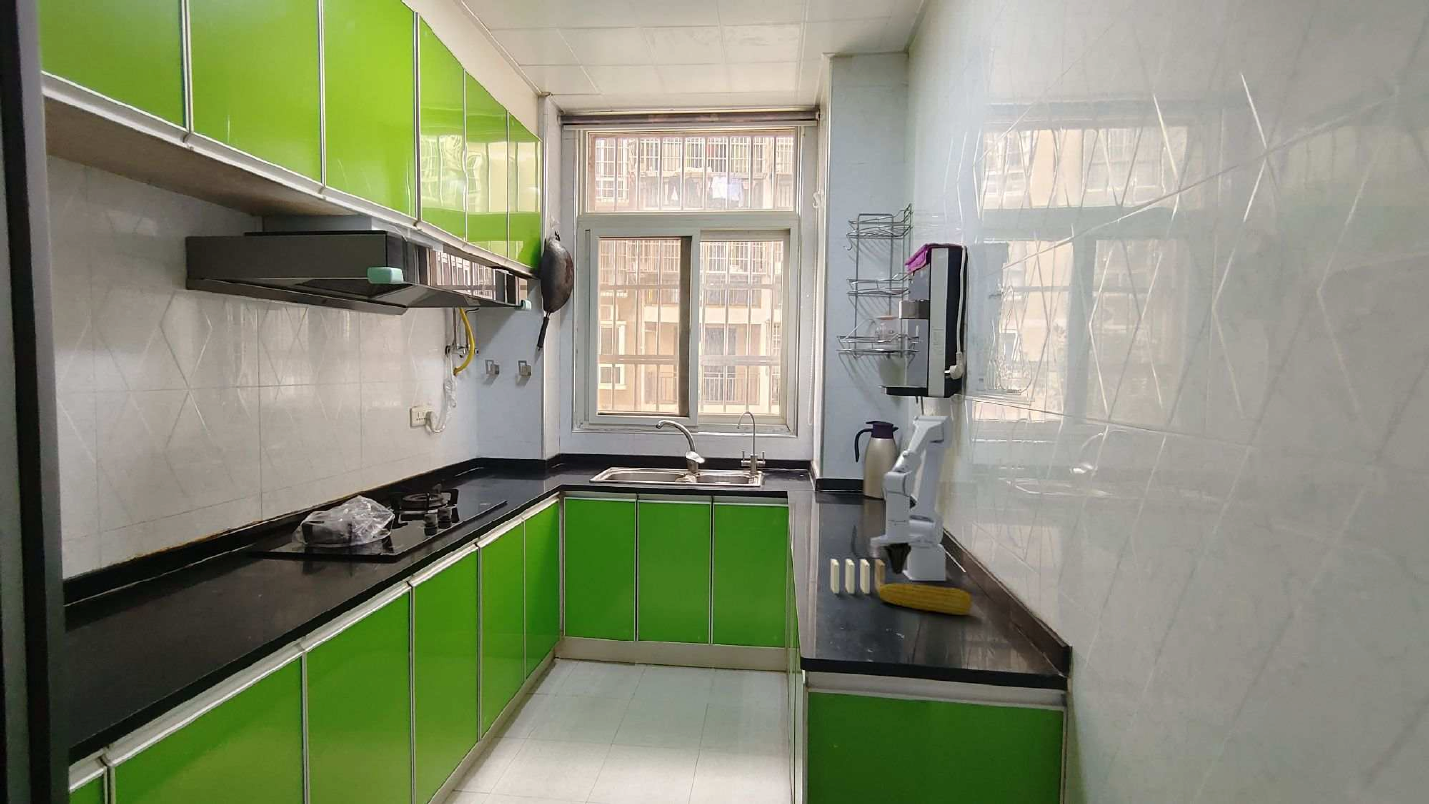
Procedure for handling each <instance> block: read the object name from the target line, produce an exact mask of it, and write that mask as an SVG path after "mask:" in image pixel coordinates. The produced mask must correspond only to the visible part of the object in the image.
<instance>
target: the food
mask: <svg viewBox="0 0 1429 804" xmlns="http://www.w3.org/2000/svg"><path fill="white" fill-rule="evenodd" d="M878 590H879V591H877V593H878V596H879V597H880V599H882V600H884V602H887V603H889V604H890V603H891V604H893V605H897V606H902V607H905V608H911V609H914V610H920V611H927V612H935V613H942V614H948V615H957V616H964V615H969V614H970V612H971V608H972V607H973V605H972V602H973V601H972V596H971V594H970V593H968V592H967V591H965V590H962V589H959V588H956V587H955V588H954V587H943V586H933V585H923V584H912V583H911V584H909V583H888V584H885V585H883V586H881V587H880V588H879V589H878Z"/></svg>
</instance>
